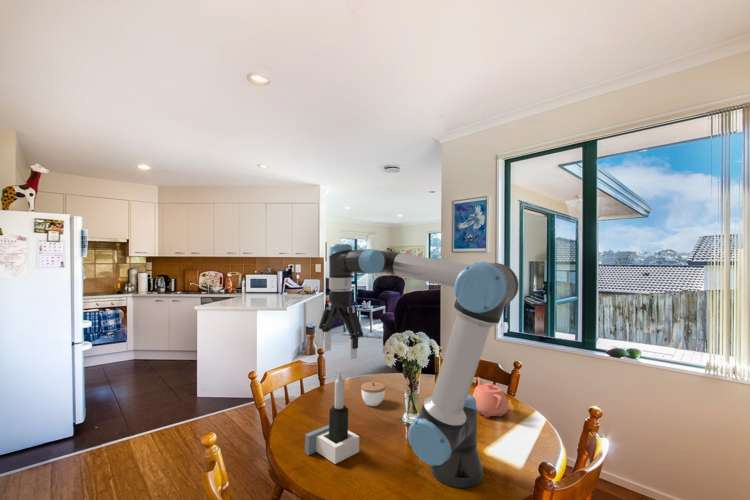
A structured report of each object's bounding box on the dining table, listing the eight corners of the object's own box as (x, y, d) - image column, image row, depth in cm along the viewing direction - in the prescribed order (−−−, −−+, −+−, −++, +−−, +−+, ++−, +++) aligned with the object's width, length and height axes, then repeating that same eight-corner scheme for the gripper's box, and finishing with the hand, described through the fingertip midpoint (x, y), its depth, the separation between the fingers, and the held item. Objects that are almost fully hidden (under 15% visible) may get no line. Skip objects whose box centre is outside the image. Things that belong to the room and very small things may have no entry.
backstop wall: (346, 437, 122) (346, 420, 122) (308, 455, 111) (308, 436, 111) (342, 435, 123) (343, 418, 123) (304, 452, 112) (305, 434, 112)
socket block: (359, 451, 113) (359, 436, 113) (335, 464, 106) (335, 447, 106) (339, 440, 120) (340, 425, 120) (316, 451, 113) (316, 435, 113)
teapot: (490, 401, 155) (490, 374, 156) (517, 422, 136) (516, 391, 136) (463, 403, 153) (463, 376, 153) (486, 424, 133) (486, 393, 134)
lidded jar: (389, 402, 154) (389, 380, 154) (376, 410, 145) (377, 388, 145) (369, 396, 160) (369, 376, 160) (356, 404, 150) (356, 383, 151)
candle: (339, 454, 109) (340, 375, 110) (327, 449, 112) (328, 371, 113) (349, 447, 113) (350, 371, 114) (337, 442, 116) (338, 368, 117)
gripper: (374, 292, 108) (374, 359, 108) (326, 287, 126) (326, 346, 125) (356, 293, 103) (356, 364, 102) (309, 288, 121) (308, 349, 120)
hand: (339, 354), depth 114 cm, fingers open, 13 cm apart
